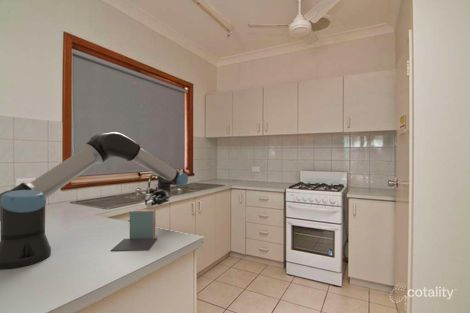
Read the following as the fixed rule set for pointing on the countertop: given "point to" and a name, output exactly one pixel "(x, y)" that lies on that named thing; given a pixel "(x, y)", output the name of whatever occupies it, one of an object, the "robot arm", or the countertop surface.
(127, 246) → the mat
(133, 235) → the tile
